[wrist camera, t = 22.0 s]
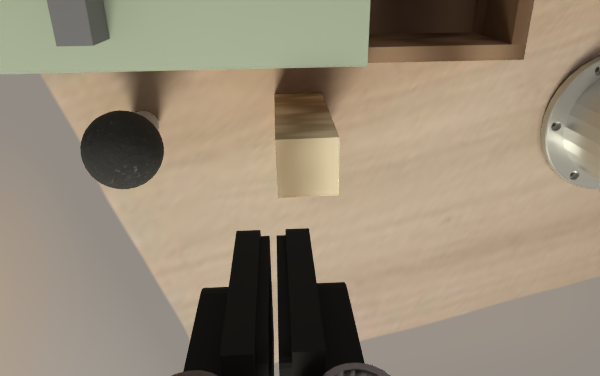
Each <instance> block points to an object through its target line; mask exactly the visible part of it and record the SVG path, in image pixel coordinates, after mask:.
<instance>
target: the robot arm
mask: <svg viewBox="0 0 600 376" xmlns="http://www.w3.org/2000/svg"><path fill="white" fill-rule="evenodd" d="M541 145H542V151H543V154H544V156H545V159H546V161H547V163H548V164H549V166H550V167H551V169H552V170H553V171H554V172H555V173H557V174H558V175H559V176H560V177H561V178H563V179H564V180H566V181H567V182H569V183H570V184H573V185H576V186H578V187H581V188H587V189H600V56H599V57H597V58H594V59H593V60H591V61H589V62H588V63H586V64H584V65H583V66H581V67H580V68H579V69H577V70H576V71H575V72H574V73H573V74H571V75H570V76H569V77H568V78H567V79H566V80H565V82H564V83H563V84H562V85H561V86H560V87H559V88H558V90H557V91H556V93H555V94H554V96H553V98H552V99H551V101H550V103H549V105H548V107H547V110H546V112H545V114H544V118H543V122H542V126H541ZM277 280H278V339H279V373H280V376H390V375H389V374H387V373H386V372H385V371H383V370H381V369H379V368H377V367H375V366H373V365H369V364H365V363H364V359H363V355H362V350H361V346H360V342H359V338H358V333H357V329H356V325H355V321H354V316H353V312H352V308H351V304H350V299H349V295H348V291H347V287H346V284H345V283H344V282H339V283H316V276H315V269H314V262H313V255H312V248H311V241H310V234H309V229H286V235H283V236H277ZM172 376H274V329H273V306H272V283H271V260H270V238H269V236H261V234H260V230H252V231H237V232H236V239H235V246H234V253H233V261H232V268H231V275H230V283H229V287H217V288H203V289H202V291H201V294H200V299H199V303H198V308H197V312H196V317H195V322H194V326H193V331H192V335H191V340H190V344H189V349H188V353H187V358H186V362H185V367H184V371H183V372H181V373H178V374H174V375H172Z"/></svg>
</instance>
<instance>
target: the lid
mask: <svg viewBox="0 0 600 376" xmlns="http://www.w3.org/2000/svg"><path fill="white" fill-rule="evenodd" d="M369 22H370V0H0V74H35V73H82V72H129V71H175V70H222V69H269V68H316V67H363V66H367V65H368V43H369Z"/></svg>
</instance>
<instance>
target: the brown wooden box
mask: <svg viewBox="0 0 600 376" xmlns="http://www.w3.org/2000/svg"><path fill="white" fill-rule="evenodd" d="M533 3H534V0H370V22H369V43H368V63H381V62H428V61H476V60H523V59H524V54H525V48H526V43H527V37H528V32H529V26H530V20H531V15H532V9H533Z"/></svg>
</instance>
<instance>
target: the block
mask: <svg viewBox="0 0 600 376" xmlns="http://www.w3.org/2000/svg"><path fill="white" fill-rule="evenodd" d="M274 96H275V144H276V164H277V185H278V198H286V197H308V196H330V195H339V135H338V133H337V130H336V128H335V125H334V123H333V120H332V118H331V115H330V113H329V110H328V108H327V105H326V103H325V100H324V98H323V95H322V93H298V94H274Z"/></svg>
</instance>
